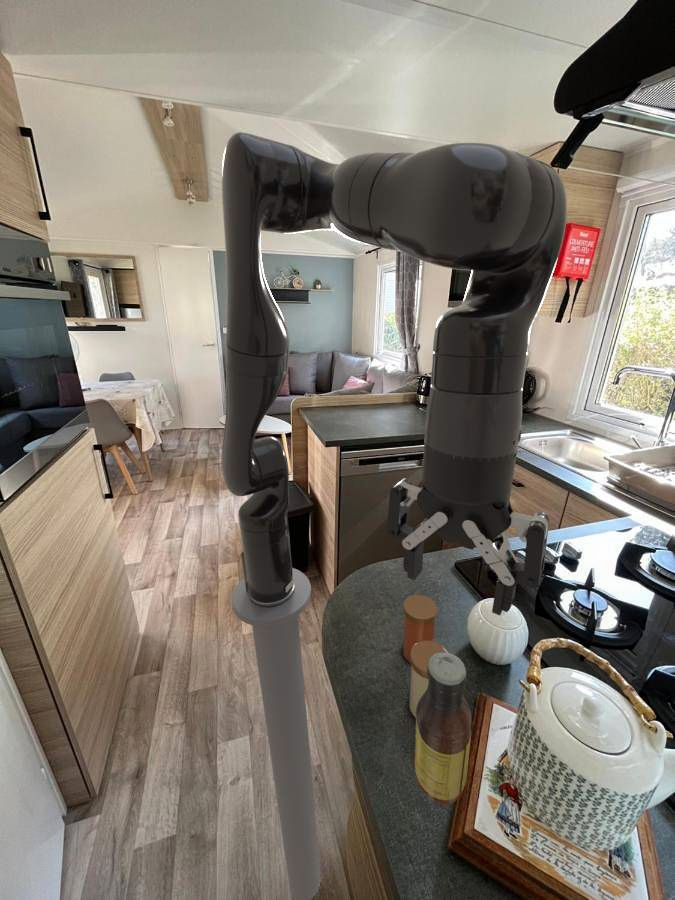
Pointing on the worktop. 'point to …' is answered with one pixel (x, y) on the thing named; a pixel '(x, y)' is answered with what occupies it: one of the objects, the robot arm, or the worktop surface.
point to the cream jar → (421, 669)
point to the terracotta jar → (418, 622)
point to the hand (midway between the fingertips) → (454, 591)
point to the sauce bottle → (443, 731)
